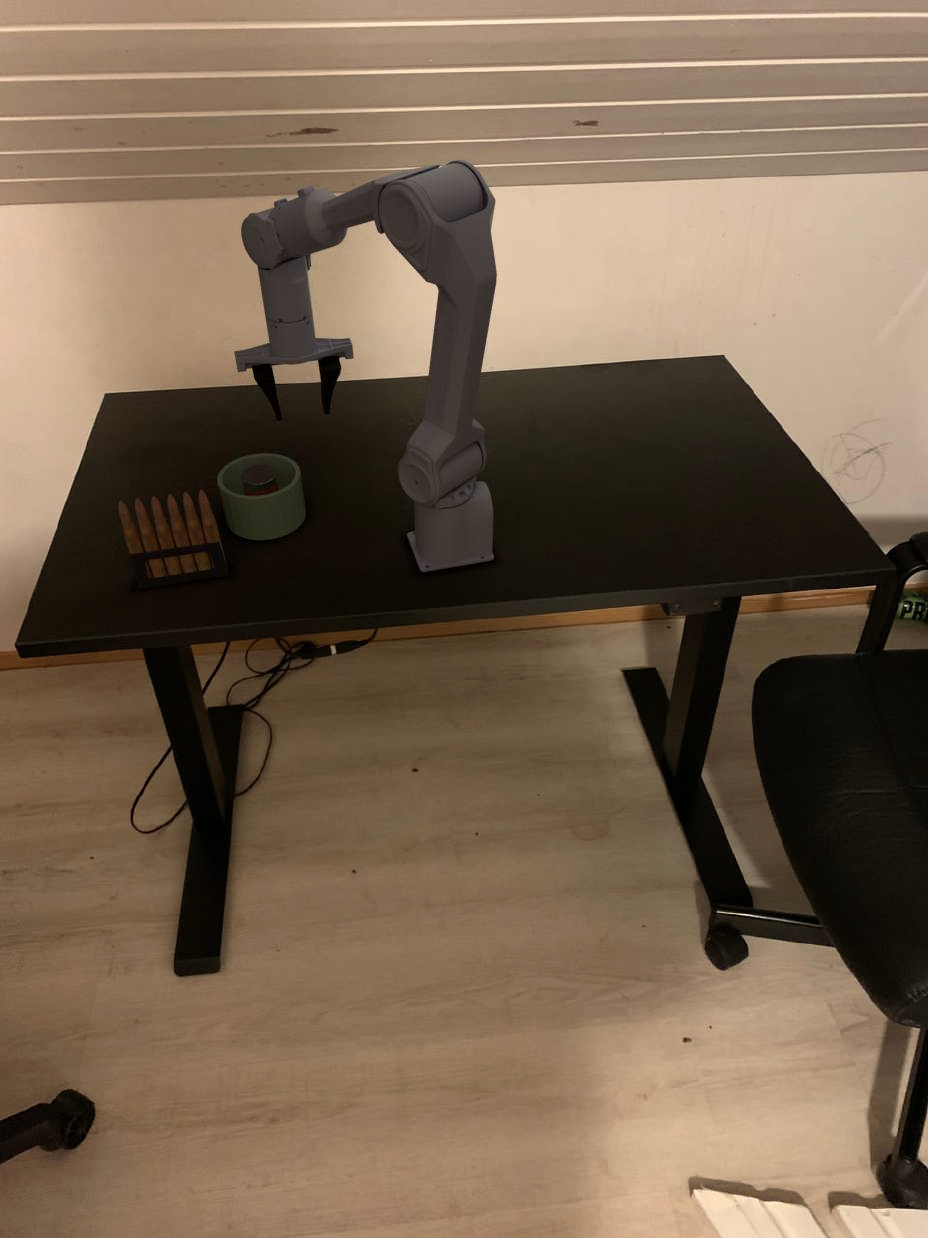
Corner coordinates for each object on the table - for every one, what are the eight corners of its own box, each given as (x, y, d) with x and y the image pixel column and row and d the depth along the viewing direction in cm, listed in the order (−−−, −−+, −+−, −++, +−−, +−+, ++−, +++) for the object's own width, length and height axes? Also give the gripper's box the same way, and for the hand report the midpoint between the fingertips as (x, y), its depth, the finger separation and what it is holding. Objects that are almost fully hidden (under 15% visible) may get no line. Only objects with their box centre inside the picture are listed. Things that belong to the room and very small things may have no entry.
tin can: (280, 500, 116) (274, 462, 112) (284, 519, 113) (278, 481, 109) (247, 506, 115) (239, 467, 111) (250, 525, 112) (242, 486, 108)
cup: (300, 489, 119) (294, 448, 115) (311, 533, 112) (305, 491, 108) (224, 500, 117) (214, 459, 113) (229, 546, 110) (219, 503, 106)
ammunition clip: (228, 565, 107) (209, 484, 99) (229, 575, 106) (209, 493, 98) (138, 579, 105) (111, 497, 97) (138, 588, 104) (110, 506, 96)
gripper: (342, 294, 109) (351, 392, 118) (225, 306, 106) (244, 406, 115) (352, 316, 104) (361, 417, 113) (229, 330, 101) (249, 432, 110)
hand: (302, 413), depth 114 cm, fingers open, 6 cm apart
